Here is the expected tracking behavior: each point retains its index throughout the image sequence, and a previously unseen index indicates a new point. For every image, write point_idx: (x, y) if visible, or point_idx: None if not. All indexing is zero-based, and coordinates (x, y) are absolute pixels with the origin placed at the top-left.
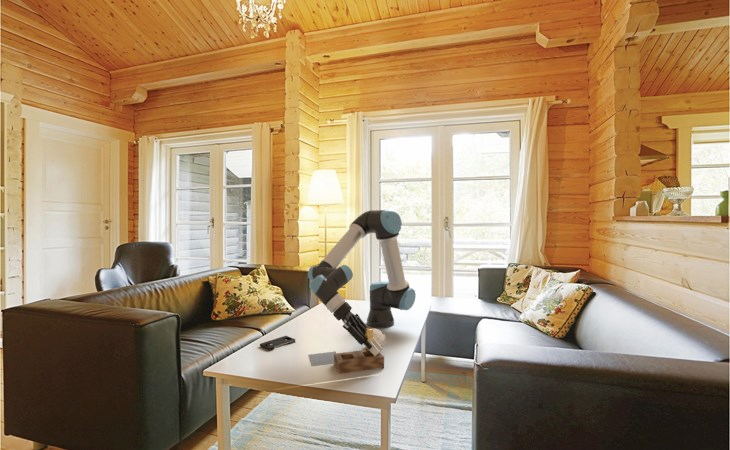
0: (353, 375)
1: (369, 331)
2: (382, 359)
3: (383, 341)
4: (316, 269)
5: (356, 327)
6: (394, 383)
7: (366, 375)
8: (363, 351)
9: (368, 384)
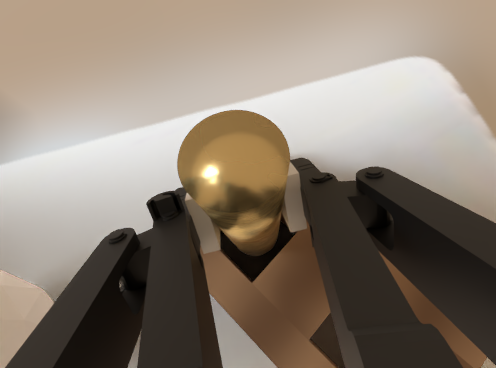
0: None
1: (278, 134)
2: None
3: None
4: None
5: (408, 303)
6: (344, 79)
7: None
8: (233, 284)
9: (418, 148)
